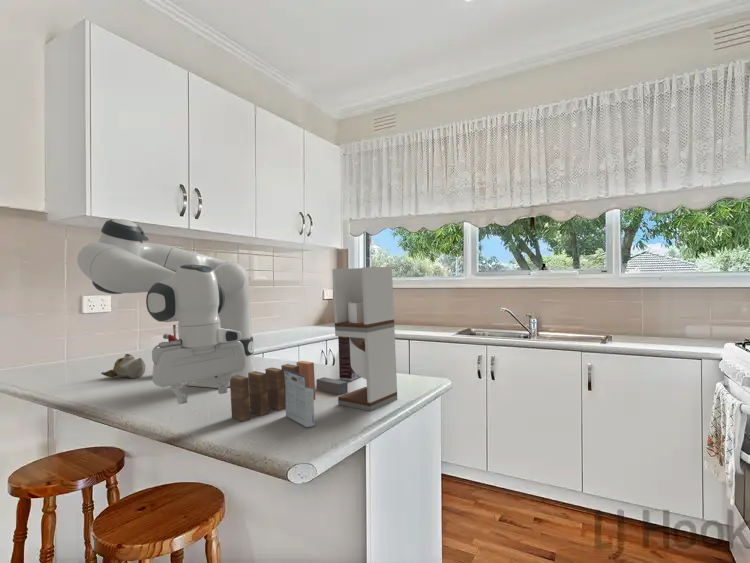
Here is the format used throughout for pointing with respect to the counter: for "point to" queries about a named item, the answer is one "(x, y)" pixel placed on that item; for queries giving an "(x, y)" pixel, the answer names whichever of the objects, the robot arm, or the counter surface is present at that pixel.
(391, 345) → the white tower
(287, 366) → the domino
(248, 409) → the domino
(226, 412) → the counter surface
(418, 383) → the counter surface
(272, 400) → the domino
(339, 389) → the block
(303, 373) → the end domino
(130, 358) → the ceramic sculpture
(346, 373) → the supplement box
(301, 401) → the ink box
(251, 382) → the domino
